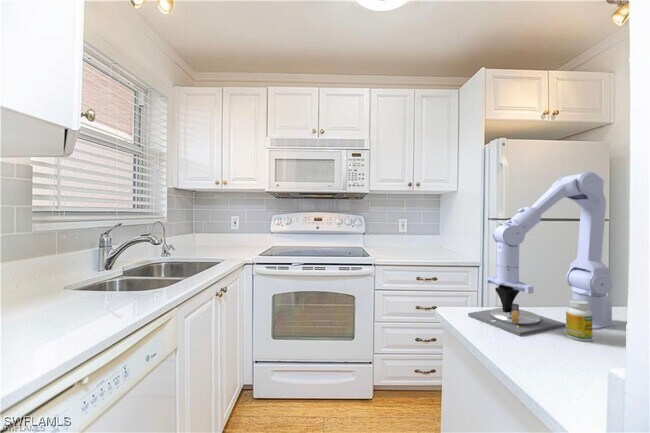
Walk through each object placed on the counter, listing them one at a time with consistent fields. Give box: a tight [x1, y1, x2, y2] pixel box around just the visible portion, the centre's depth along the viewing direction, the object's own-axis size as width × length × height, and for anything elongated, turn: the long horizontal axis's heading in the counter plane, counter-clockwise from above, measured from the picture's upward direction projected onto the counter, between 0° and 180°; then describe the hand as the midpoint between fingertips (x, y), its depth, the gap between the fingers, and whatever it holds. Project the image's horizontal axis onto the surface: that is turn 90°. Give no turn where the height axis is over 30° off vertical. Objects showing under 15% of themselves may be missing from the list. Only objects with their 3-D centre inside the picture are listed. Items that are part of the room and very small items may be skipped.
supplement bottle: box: [565, 298, 594, 342], centre depth 83 cm, size 5×5×10 cm
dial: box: [490, 302, 540, 325], centre depth 95 cm, size 14×13×4 cm
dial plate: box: [467, 308, 566, 337], centre depth 96 cm, size 18×18×1 cm
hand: (507, 312), depth 93 cm, fingers closed, pressing on dial
